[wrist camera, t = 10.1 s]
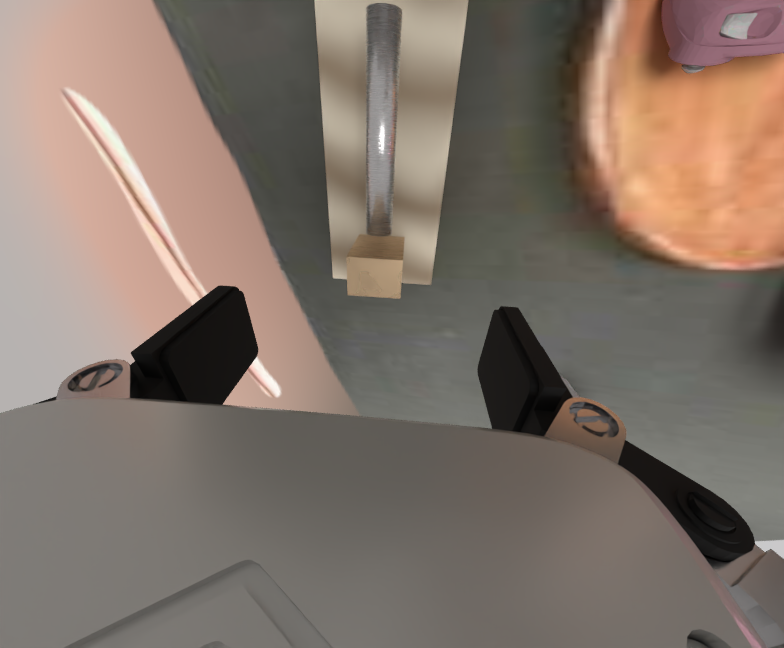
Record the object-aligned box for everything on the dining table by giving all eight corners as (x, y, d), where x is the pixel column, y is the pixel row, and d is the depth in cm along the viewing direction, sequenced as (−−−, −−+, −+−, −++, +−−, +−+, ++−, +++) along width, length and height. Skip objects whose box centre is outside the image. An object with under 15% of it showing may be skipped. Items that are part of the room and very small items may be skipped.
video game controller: (628, 51, 21) (677, 91, 18) (671, -48, 18) (745, -22, 14) (778, 28, 20) (862, 66, 17) (859, -83, 16) (992, -65, 13)
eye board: (297, -371, 13) (102, -1260, 5) (513, -367, 13) (697, -1291, 5) (336, 272, 30) (307, 321, 22) (430, 279, 30) (437, 331, 22)
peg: (356, 27, 18) (335, -18, 13) (419, 30, 18) (422, -14, 13) (359, 266, 27) (347, 295, 22) (402, 269, 27) (400, 298, 22)
